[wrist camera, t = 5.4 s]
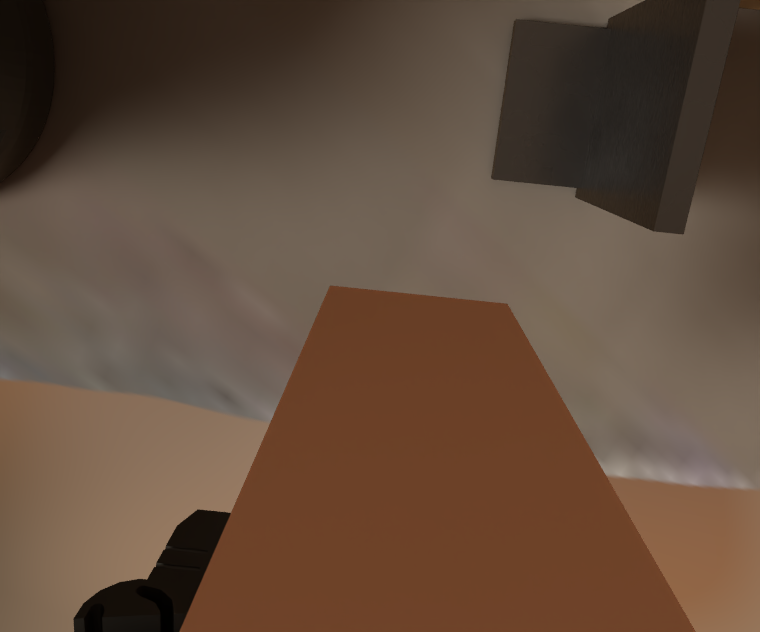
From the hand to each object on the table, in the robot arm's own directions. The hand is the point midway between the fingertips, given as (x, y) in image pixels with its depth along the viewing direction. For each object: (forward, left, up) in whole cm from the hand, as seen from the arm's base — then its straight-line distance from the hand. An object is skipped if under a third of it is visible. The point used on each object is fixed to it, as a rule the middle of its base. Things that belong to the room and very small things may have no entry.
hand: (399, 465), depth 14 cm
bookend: (+6, +9, -18) cm, 21 cm away
